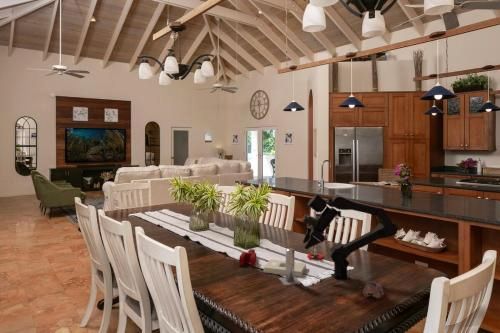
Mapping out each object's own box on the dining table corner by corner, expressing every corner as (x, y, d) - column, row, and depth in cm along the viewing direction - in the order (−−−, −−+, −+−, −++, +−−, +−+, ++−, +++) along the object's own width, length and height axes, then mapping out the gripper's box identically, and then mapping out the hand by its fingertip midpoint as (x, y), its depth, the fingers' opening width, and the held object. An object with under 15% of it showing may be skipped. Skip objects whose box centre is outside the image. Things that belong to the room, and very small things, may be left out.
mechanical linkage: (253, 267, 174) (253, 258, 174) (239, 266, 176) (239, 257, 175) (259, 257, 190) (259, 248, 189) (246, 256, 191) (246, 247, 191)
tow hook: (307, 255, 195) (307, 259, 186) (307, 231, 194) (307, 235, 185) (322, 255, 193) (323, 260, 184) (323, 232, 193) (324, 236, 184)
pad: (301, 283, 154) (301, 283, 154) (284, 285, 152) (284, 284, 152) (295, 276, 162) (295, 276, 162) (278, 278, 160) (278, 278, 160)
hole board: (305, 268, 173) (305, 263, 172) (301, 277, 161) (301, 271, 161) (270, 264, 178) (270, 259, 178) (263, 272, 167) (263, 267, 167)
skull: (373, 289, 148) (373, 274, 148) (391, 294, 143) (391, 279, 142) (358, 297, 140) (359, 282, 140) (377, 304, 135) (377, 288, 134)
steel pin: (295, 281, 155) (295, 250, 154) (287, 282, 154) (287, 251, 154) (292, 278, 159) (292, 248, 158) (284, 279, 158) (284, 248, 157)
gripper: (309, 204, 169) (289, 230, 171) (313, 212, 151) (291, 240, 152) (327, 218, 169) (307, 243, 170) (334, 227, 151) (312, 256, 152)
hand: (304, 245), depth 161 cm, fingers open, 9 cm apart
